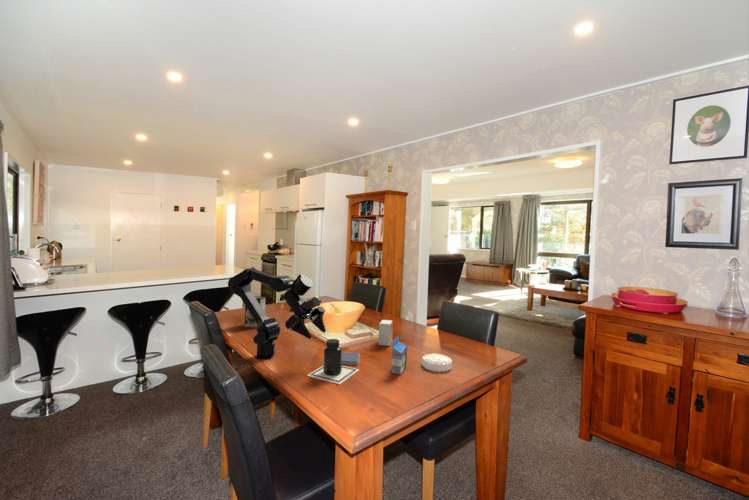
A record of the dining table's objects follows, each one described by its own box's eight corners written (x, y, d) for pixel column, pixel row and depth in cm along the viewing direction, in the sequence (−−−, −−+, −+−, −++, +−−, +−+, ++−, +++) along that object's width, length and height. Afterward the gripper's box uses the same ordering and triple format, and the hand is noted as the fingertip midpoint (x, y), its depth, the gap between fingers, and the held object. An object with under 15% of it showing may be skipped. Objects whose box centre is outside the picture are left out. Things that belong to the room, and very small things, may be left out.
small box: (389, 346, 155) (390, 324, 154) (378, 345, 156) (379, 323, 156) (392, 341, 163) (393, 320, 162) (381, 340, 164) (382, 319, 163)
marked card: (307, 375, 119) (307, 374, 119) (328, 363, 132) (328, 361, 132) (339, 384, 113) (339, 383, 113) (359, 370, 126) (359, 369, 126)
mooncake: (429, 373, 126) (429, 364, 126) (417, 361, 137) (417, 353, 137) (457, 371, 129) (457, 362, 129) (443, 359, 141) (443, 351, 140)
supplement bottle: (333, 367, 127) (333, 336, 127) (345, 372, 123) (346, 340, 122) (319, 372, 122) (320, 340, 122) (331, 377, 118) (332, 345, 117)
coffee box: (244, 326, 179) (244, 297, 179) (250, 323, 186) (250, 295, 185) (259, 328, 178) (260, 298, 177) (265, 324, 184) (265, 296, 183)
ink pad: (330, 364, 131) (330, 360, 131) (334, 354, 142) (335, 351, 142) (358, 365, 131) (358, 362, 131) (360, 355, 142) (360, 352, 142)
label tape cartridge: (400, 375, 123) (401, 342, 122) (390, 373, 124) (391, 341, 124) (406, 366, 131) (407, 336, 131) (397, 365, 132) (398, 335, 132)
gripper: (292, 293, 119) (316, 328, 114) (322, 287, 135) (343, 317, 131) (274, 312, 122) (297, 346, 118) (306, 303, 139) (326, 333, 135)
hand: (317, 335), depth 125 cm, fingers open, 9 cm apart
